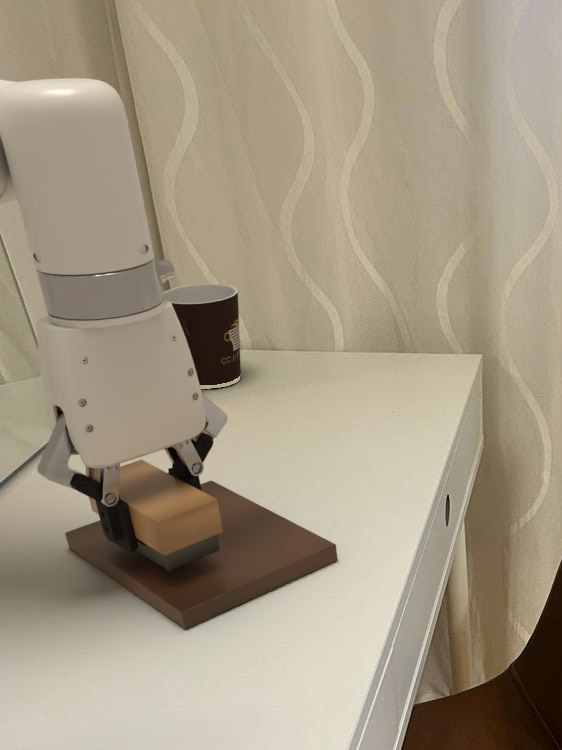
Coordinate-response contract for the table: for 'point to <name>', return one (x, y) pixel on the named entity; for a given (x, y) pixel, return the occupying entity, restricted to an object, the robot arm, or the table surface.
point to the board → (213, 561)
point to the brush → (168, 515)
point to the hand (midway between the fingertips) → (158, 530)
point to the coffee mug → (210, 329)
